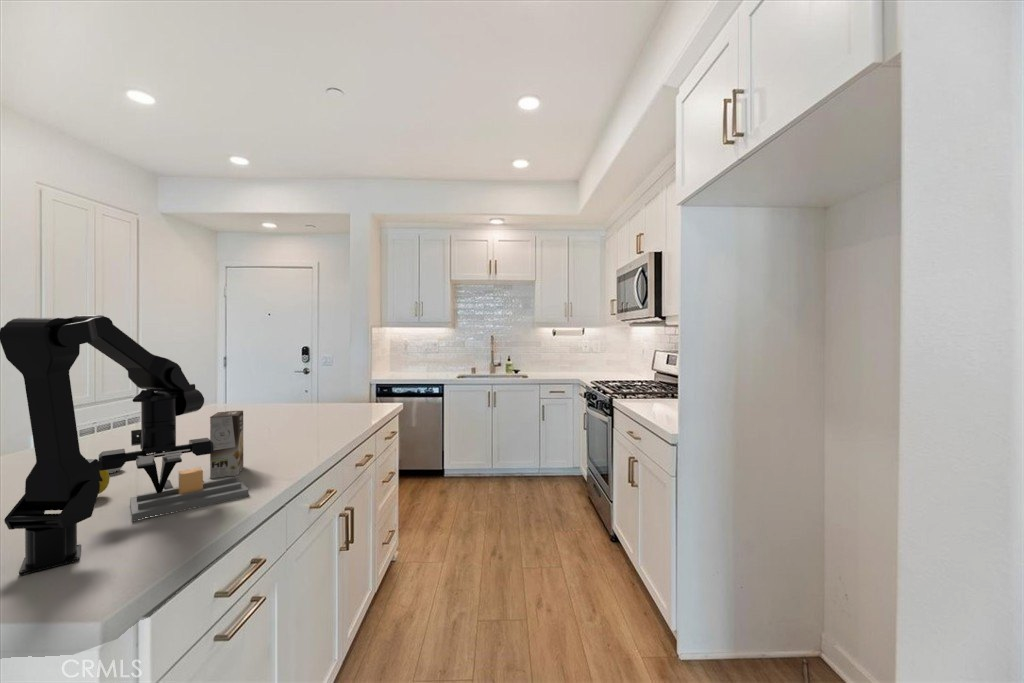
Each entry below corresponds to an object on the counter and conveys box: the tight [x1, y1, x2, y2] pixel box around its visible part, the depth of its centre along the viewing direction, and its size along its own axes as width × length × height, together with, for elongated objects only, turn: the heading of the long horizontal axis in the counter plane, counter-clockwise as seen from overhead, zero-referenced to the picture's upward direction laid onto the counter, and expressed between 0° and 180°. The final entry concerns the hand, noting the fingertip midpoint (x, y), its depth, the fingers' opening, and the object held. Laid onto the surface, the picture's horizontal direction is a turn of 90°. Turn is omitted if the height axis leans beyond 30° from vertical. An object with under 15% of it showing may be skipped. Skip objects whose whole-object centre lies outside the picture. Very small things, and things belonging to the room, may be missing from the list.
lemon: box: [98, 470, 111, 495], centre depth 96 cm, size 6×6×8 cm
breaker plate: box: [129, 476, 250, 522], centre depth 95 cm, size 12×20×2 cm, turn 133°
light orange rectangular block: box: [178, 467, 204, 494], centre depth 95 cm, size 3×4×5 cm
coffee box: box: [209, 410, 244, 479], centre depth 115 cm, size 9×6×16 cm
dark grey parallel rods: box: [164, 479, 205, 490], centre depth 103 cm, size 11×7×1 cm
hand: (159, 492), depth 91 cm, fingers closed
